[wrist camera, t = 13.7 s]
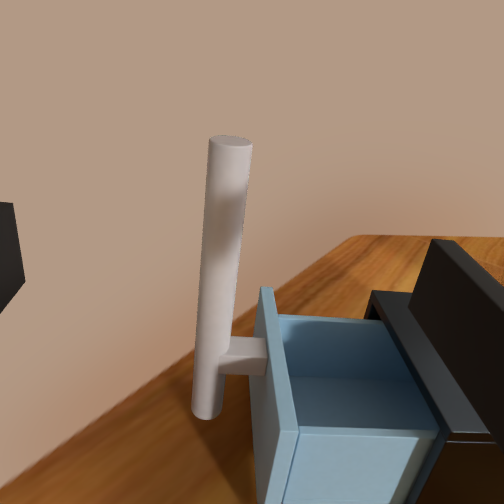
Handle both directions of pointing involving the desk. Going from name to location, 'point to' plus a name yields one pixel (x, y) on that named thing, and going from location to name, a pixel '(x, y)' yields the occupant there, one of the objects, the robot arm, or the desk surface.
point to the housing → (442, 417)
